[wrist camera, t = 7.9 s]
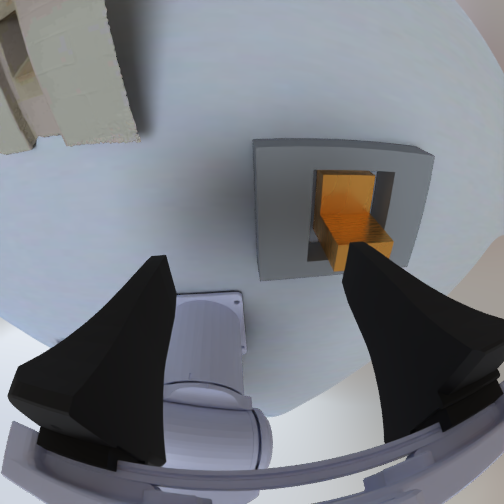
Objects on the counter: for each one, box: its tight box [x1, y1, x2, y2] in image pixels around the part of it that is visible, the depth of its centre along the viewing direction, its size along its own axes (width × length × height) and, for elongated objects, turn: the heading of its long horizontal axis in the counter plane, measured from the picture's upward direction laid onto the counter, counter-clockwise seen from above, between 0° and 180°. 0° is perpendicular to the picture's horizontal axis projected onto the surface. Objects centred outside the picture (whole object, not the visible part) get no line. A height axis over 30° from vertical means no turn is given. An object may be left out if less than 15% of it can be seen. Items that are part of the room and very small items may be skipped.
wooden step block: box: [313, 170, 394, 272], centre depth 18 cm, size 5×4×6 cm
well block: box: [253, 139, 435, 281], centre depth 19 cm, size 10×13×2 cm
